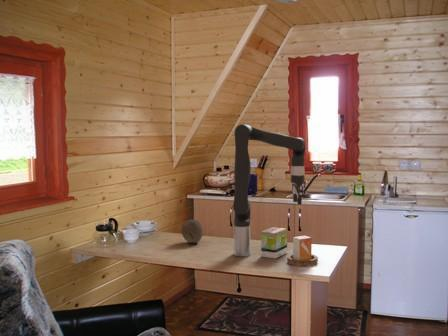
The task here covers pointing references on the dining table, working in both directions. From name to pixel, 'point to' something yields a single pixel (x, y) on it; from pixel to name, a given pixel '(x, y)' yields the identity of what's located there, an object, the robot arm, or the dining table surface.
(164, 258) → the dining table surface
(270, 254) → the tea box
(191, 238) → the cantaloupe
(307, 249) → the small box
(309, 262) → the tray
